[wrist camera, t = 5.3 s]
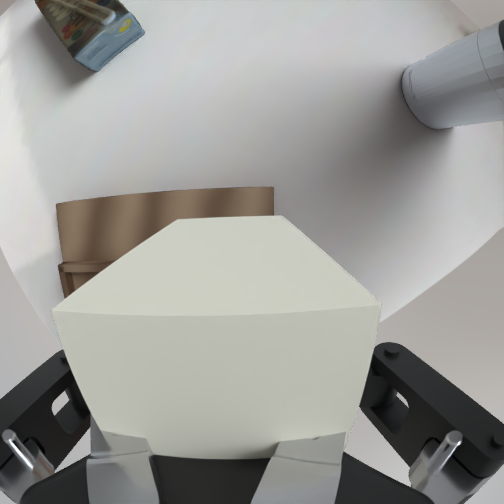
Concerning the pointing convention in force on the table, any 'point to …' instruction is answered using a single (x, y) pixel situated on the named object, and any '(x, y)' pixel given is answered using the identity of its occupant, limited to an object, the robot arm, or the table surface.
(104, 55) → the beverage carton
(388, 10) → the table surface
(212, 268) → the tea box
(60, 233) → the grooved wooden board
